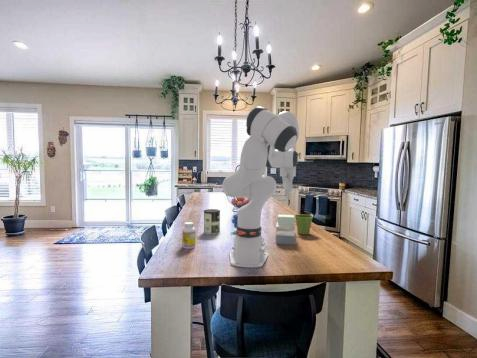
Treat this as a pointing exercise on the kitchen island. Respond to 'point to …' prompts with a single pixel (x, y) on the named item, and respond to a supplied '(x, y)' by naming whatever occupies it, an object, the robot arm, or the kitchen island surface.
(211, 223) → the coffee can
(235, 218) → the grapes
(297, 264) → the kitchen island surface
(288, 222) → the sage brick
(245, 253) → the robot arm
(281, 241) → the grey base block
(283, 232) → the cream top block
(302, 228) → the plant pot
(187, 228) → the supplement bottle
